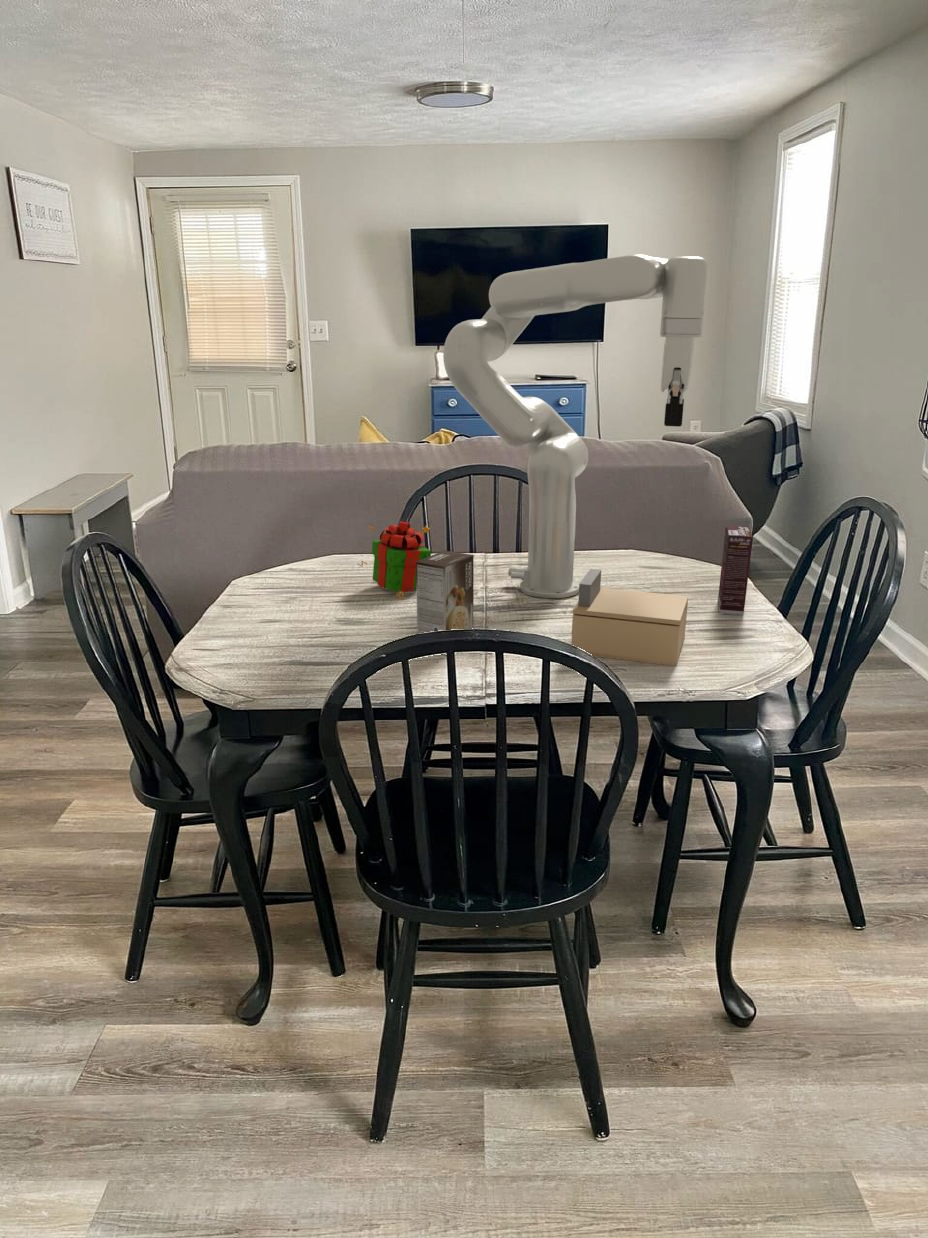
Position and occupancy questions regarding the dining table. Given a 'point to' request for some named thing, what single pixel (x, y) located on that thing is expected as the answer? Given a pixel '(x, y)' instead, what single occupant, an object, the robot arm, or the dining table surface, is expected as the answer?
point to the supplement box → (734, 570)
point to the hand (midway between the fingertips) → (673, 422)
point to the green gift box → (398, 557)
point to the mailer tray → (629, 638)
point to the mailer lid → (627, 602)
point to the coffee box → (445, 592)
